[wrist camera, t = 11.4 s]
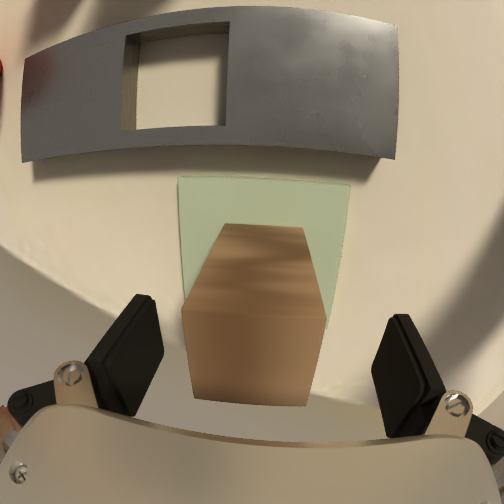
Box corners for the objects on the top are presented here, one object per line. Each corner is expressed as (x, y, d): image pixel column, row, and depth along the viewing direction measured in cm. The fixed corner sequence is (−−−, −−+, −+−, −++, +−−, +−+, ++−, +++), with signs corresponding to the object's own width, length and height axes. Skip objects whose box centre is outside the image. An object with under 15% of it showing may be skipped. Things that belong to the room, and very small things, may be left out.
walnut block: (302, 227, 17) (327, 319, 9) (295, 294, 19) (305, 406, 11) (224, 223, 17) (181, 309, 9) (225, 290, 19) (194, 398, 11)
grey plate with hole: (385, 35, 12) (396, 26, 10) (382, 156, 15) (394, 159, 14) (41, 61, 14) (25, 58, 12) (39, 158, 17) (22, 163, 15)
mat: (347, 184, 16) (350, 186, 16) (326, 323, 20) (327, 328, 20) (181, 176, 17) (178, 177, 16) (189, 314, 21) (187, 319, 20)
